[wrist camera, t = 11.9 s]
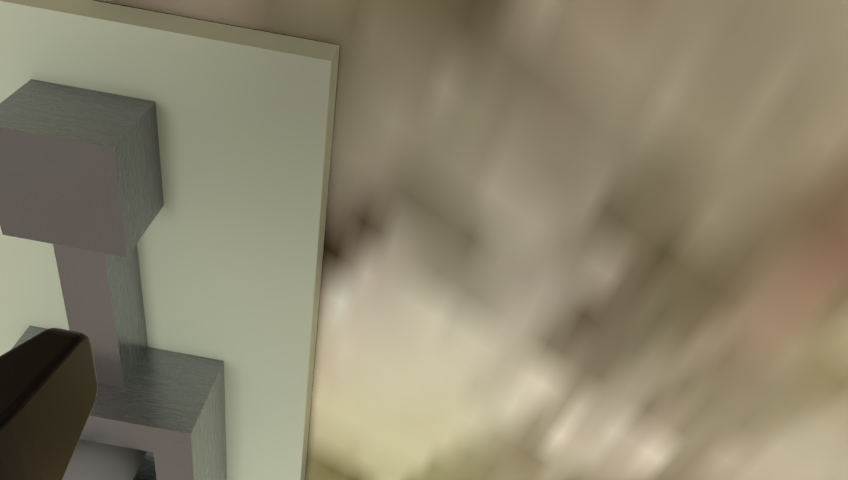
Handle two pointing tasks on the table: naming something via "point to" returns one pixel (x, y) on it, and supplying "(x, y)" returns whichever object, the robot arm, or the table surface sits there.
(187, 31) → the pale green rectangular panel
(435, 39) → the table surface
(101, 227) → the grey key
